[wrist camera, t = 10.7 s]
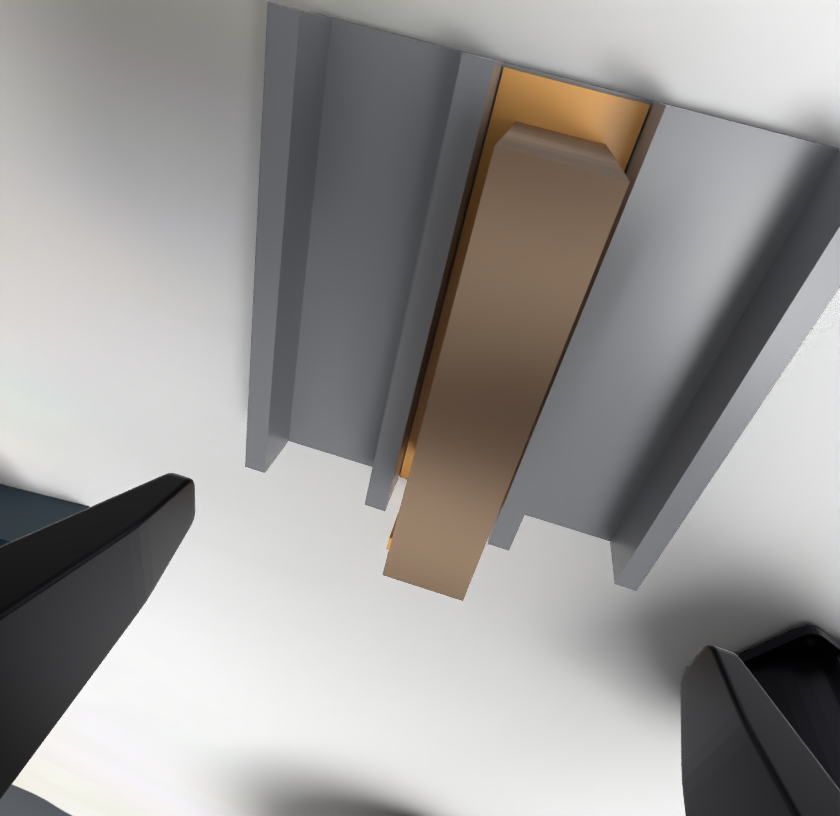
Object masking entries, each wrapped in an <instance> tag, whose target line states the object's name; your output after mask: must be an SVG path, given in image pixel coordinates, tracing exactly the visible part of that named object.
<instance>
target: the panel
mask: <svg viewBox="0 0 840 816" xmlns="http://www.w3.org/2000/svg"><path fill="white" fill-rule="evenodd" d="M629 183H630V181H629V179H628V178H627V176H626V175H625V173H624V172H623V170H622V169H621V167H620V165H619V164H618V162H617V161H616V159H615V158H614V156H613V155H612V153H611V151H610V150H609V148H608V147H607V145H605V144H601V143H598V142H594V141H590V140H586V139H582V138H578V137H575V136H571V135H567V134H563V133H559V132H556V131H552V130H548V129H544V128H540V127H536V126H533V125H529V124H525V123H521V122H517V121H516V122H515V123H514V124H513V126H512V127H511V128H510V129H509V130H508V131H507V132H506V133H505V135H504V136H503V137H502V138H501V139H500V140H499V141H498V143H497V144H496V145H495V146H494V150H493V154H492V158H491V162H490V165H489V169H488V173H487V177H486V181H485V185H484V188H483V192H482V196H481V200H480V204H479V208H478V211H477V215H476V219H475V223H474V227H473V231H472V234H471V238H470V242H469V246H468V250H467V254H466V257H465V261H464V265H463V269H462V273H461V277H460V280H459V284H458V288H457V292H456V296H455V300H454V303H453V307H452V311H451V315H450V319H449V323H448V326H447V330H446V334H445V338H444V342H443V346H442V349H441V353H440V357H439V361H438V365H437V369H436V372H435V376H434V380H433V384H432V388H431V392H430V395H429V399H428V403H427V407H426V411H425V415H424V418H423V422H422V426H421V430H420V434H419V438H418V441H417V445H416V449H415V453H414V457H413V461H412V464H411V468H410V472H409V476H408V480H407V484H406V487H405V491H404V495H403V499H402V503H401V507H400V510H399V514H398V518H397V522H396V526H395V529H394V533H393V537H392V541H391V545H390V549H389V552H388V556H387V560H386V564H385V568H384V572H383V575H384V576H388V577H391V578H394V579H397V580H400V581H403V582H406V583H409V584H412V585H415V586H419V587H422V588H425V589H428V590H431V591H434V592H437V593H440V594H443V595H446V596H449V597H453V598H456V599H459V600H462V601H463V599H464V597H465V594H466V592H467V589H468V587H469V584H470V582H471V579H472V577H473V574H474V572H475V569H476V567H477V564H478V562H479V559H480V557H481V554H482V551H483V549H484V546H485V544H486V541H487V539H488V536H489V534H490V531H491V529H492V526H493V524H494V521H495V519H496V516H497V514H498V511H499V509H500V506H501V504H502V501H503V499H504V496H505V494H506V491H507V489H508V486H509V484H510V481H511V479H512V476H513V474H514V471H515V469H516V466H517V464H518V461H519V459H520V456H521V454H522V451H523V449H524V446H525V444H526V441H527V439H528V436H529V434H530V431H531V429H532V426H533V424H534V421H535V419H536V416H537V414H538V411H539V409H540V406H541V404H542V401H543V399H544V396H545V393H546V391H547V388H548V386H549V383H550V381H551V378H552V376H553V373H554V371H555V368H556V366H557V363H558V361H559V358H560V356H561V353H562V351H563V348H564V346H565V343H566V341H567V338H568V336H569V333H570V331H571V328H572V326H573V323H574V321H575V318H576V316H577V313H578V311H579V308H580V306H581V303H582V301H583V298H584V296H585V293H586V291H587V288H588V286H589V283H590V281H591V278H592V276H593V273H594V271H595V268H596V266H597V263H598V261H599V258H600V256H601V253H602V251H603V248H604V246H605V243H606V240H607V238H608V235H609V233H610V230H611V228H612V225H613V223H614V220H615V218H616V215H617V213H618V210H619V208H620V205H621V203H622V200H623V198H624V195H625V193H626V190H627V188H628V185H629Z"/></svg>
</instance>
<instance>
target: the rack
mask: <svg viewBox="0 0 840 816" xmlns="http://www.w3.org/2000/svg"><path fill="white" fill-rule="evenodd" d="M516 121H517V122H521V123H525V124H529V125H533V126H536V127H540V128H544V129H548V130H552V131H556V132H559V133H563V134H567V135H571V136H575V137H578V138H582V139H586V140H590V141H594V142H598V143H601V144H605V145H607V147H608V148H609V150H610V151H611V153H612V155H613V156H614V158H615V159H616V161H617V162H618V164H619V165H620V167H621V169H622V170H623V172H624V173H625V175H626V176H627V178H628V179H629V181H630V183H629V185H628V188H627V190H626V193H625V195H624V198H623V200H622V203H621V205H620V208H619V210H618V213H617V215H616V218H615V220H614V223H613V225H612V228H611V230H610V233H609V235H608V238H607V240H606V243H605V246H604V248H603V251H602V253H601V256H600V258H599V261H598V263H597V266H596V268H595V271H594V273H593V276H592V278H591V281H590V283H589V286H588V288H587V291H586V293H585V296H584V298H583V301H582V303H581V306H580V308H579V311H578V313H577V316H576V318H575V321H574V323H573V326H572V328H571V331H570V333H569V336H568V338H567V341H566V343H565V346H564V348H563V351H562V353H561V356H560V358H559V361H558V363H557V366H556V368H555V371H554V373H553V376H552V378H551V381H550V383H549V386H548V388H547V391H546V393H545V396H544V399H543V401H542V404H541V406H540V409H539V411H538V414H537V416H536V419H535V421H534V424H533V426H532V429H531V431H530V434H529V436H528V439H527V441H526V444H525V446H524V449H523V451H522V454H521V456H520V459H519V461H518V464H517V466H516V469H515V471H514V474H513V476H512V479H511V481H510V484H509V486H508V489H507V491H506V494H505V496H504V499H503V501H502V504H501V506H500V509H499V511H498V514H497V516H496V519H495V521H494V524H493V526H492V529H491V531H490V534H489V540H488V544H491V545H494V546H497V547H500V548H503V549H506V550H509V549H510V546H511V544H512V542H513V540H514V537H515V535H516V533H517V531H518V528H519V526H520V524H521V522H522V519H523V517H524V515H528V516H531V517H535V518H538V519H541V520H544V521H547V522H551V523H554V524H557V525H560V526H563V527H567V528H570V529H573V530H576V531H579V532H583V533H586V534H589V535H592V536H595V537H599V538H602V539H605V540H608V541H610V544H611V553H612V562H613V571H614V581H615V584H617V585H620V586H623V587H626V588H629V589H632V590H635V591H637V589H638V588H639V586H640V585H641V583H642V582H643V580H644V579H645V577H646V576H647V574H648V573H649V571H650V570H651V568H652V567H653V565H654V564H655V562H656V561H657V559H658V558H659V556H660V555H661V553H662V552H663V550H664V549H665V547H666V546H667V544H668V543H669V541H670V540H671V538H672V537H673V535H674V534H675V532H676V531H677V529H678V528H679V526H680V525H681V523H682V522H683V520H684V519H685V517H686V516H687V514H688V513H689V511H690V510H691V508H692V507H693V505H694V504H695V502H696V501H697V500H698V498H699V497H700V495H701V494H702V492H703V491H704V489H705V488H706V486H707V485H708V483H709V482H710V480H711V479H712V477H713V476H714V474H715V473H716V471H717V470H718V468H719V467H720V465H721V464H722V462H723V461H724V459H725V458H726V456H727V455H728V453H729V452H730V450H731V449H732V447H733V446H734V444H735V443H736V441H737V440H738V438H739V437H740V435H741V434H742V432H743V431H744V429H745V428H746V426H747V425H748V423H749V422H750V420H751V419H752V417H753V416H754V414H755V413H756V411H757V410H758V408H759V407H760V405H761V404H762V402H763V401H764V399H765V398H766V396H767V395H768V393H769V392H770V390H771V389H772V387H773V386H774V384H775V383H776V382H777V380H778V379H779V377H780V376H781V374H782V373H783V371H784V370H785V368H786V367H787V365H788V364H789V362H790V361H791V359H792V358H793V356H794V355H795V353H796V352H797V350H798V349H799V347H800V346H801V344H802V343H803V341H804V340H805V338H806V337H807V335H808V334H809V332H810V331H811V329H812V328H813V326H814V325H815V323H816V322H817V320H818V319H819V317H820V316H821V314H822V313H823V311H824V310H825V308H826V307H827V305H828V304H829V302H830V301H831V299H832V298H833V296H834V295H835V293H836V292H837V290H838V289H839V287H840V149H838V148H834V147H830V146H826V145H822V144H818V143H814V142H811V141H807V140H803V139H799V138H795V137H791V136H787V135H783V134H780V133H776V132H772V131H768V130H764V129H760V128H756V127H752V126H749V125H745V124H741V123H737V122H733V121H729V120H725V119H721V118H718V117H714V116H710V115H706V114H702V113H698V112H694V111H691V110H687V109H683V108H679V107H675V106H671V105H667V104H663V103H660V102H656V101H652V100H648V99H644V98H640V97H636V96H632V95H629V94H625V93H621V92H617V91H613V90H609V89H605V88H601V87H598V86H594V85H590V84H586V83H582V82H578V81H574V80H570V79H567V78H563V77H559V76H555V75H551V74H547V73H543V72H540V71H536V70H532V69H528V68H524V67H520V66H516V65H512V64H509V63H505V62H501V61H497V60H493V59H489V58H485V57H481V56H478V55H474V54H470V53H466V52H462V51H458V50H454V49H450V48H447V47H443V46H439V45H435V44H431V43H427V42H423V41H420V40H416V39H412V38H408V37H404V36H400V35H396V34H392V33H389V32H385V31H381V30H377V29H373V28H369V27H365V26H361V25H358V24H354V23H350V22H346V21H342V20H338V19H334V18H330V17H327V16H323V15H319V14H315V13H311V12H307V11H303V10H299V9H294V8H290V7H286V6H282V5H278V4H274V3H269V2H268V11H267V32H266V52H265V72H264V93H263V113H262V134H261V154H260V175H259V195H258V216H257V236H256V257H255V277H254V298H253V318H252V339H251V359H250V380H249V400H248V421H247V441H246V462H245V467H248V468H251V469H254V470H258V471H261V472H264V473H265V472H266V471H267V469H268V468H269V467H270V465H271V464H272V463H273V461H274V460H275V458H276V457H277V456H278V454H279V453H280V452H281V450H282V449H283V448H284V446H285V445H286V443H287V442H288V441H291V442H295V443H298V444H301V445H304V446H307V447H311V448H314V449H317V450H320V451H323V452H327V453H330V454H333V455H336V456H339V457H343V458H346V459H349V460H352V461H355V462H359V463H362V464H365V465H368V466H371V467H373V469H372V473H371V478H370V483H369V487H368V492H367V496H366V501H365V505H368V506H371V507H374V508H377V509H380V510H384V511H385V510H386V507H387V505H388V502H389V500H390V497H391V495H392V492H393V490H394V487H395V485H396V482H397V480H398V477H399V475H400V477H402V478H405V479H408V476H409V472H410V468H411V464H412V461H413V457H414V453H415V449H416V445H417V441H418V438H419V434H420V430H421V426H422V422H423V418H424V415H425V411H426V407H427V403H428V399H429V395H430V392H431V388H432V384H433V380H434V376H435V372H436V369H437V365H438V361H439V357H440V353H441V349H442V346H443V342H444V338H445V334H446V330H447V326H448V323H449V319H450V315H451V311H452V307H453V303H454V300H455V296H456V292H457V288H458V284H459V280H460V277H461V273H462V269H463V265H464V261H465V257H466V254H467V250H468V246H469V242H470V238H471V234H472V231H473V227H474V223H475V219H476V215H477V211H478V208H479V204H480V200H481V196H482V192H483V188H484V185H485V181H486V177H487V173H488V169H489V165H490V162H491V158H492V154H493V150H494V146H495V145H496V144H497V143H498V141H499V140H500V139H501V138H502V137H503V136H504V135H505V133H506V132H507V131H508V130H509V129H510V128H511V127H512V126H513V124H514V123H515V122H516ZM398 514H399V513H398ZM397 518H398V516H397ZM397 518H396V521H395V524H394V527H393V529H392V532H391V535H390V538H389V541H388V545H387V549H388V550H389V549H390V545H391V541H392V537H393V533H394V529H395V526H396V522H397Z"/></svg>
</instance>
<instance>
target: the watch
mask: <svg viewBox="0 0 840 816" xmlns="http://www.w3.org/2000/svg"><path fill="white" fill-rule="evenodd" d="M87 508H89V507H88V506H84V505H80V504H76V503H72V502H68V501H64V500H60V499H56V498H52V497H48V496H44V495H40V494H36V493H32V492H28V491H24V490H20V489H16V488H13V487H9V486H5V485H1V484H0V547H1V546H3V545H5V544H7V543H10V542H12V541H14V540H17V539H19V538H21V537H23V536H26V535H28V534H30V533H33V532H35V531H37V530H39V529H42V528H44V527H46V526H49V525H51V524H53V523H55V522H58V521H60V520H62V519H65V518H67V517H69V516H71V515H74V514H76V513H78V512H81V511H83V510H85V509H87Z"/></svg>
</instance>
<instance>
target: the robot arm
mask: <svg viewBox="0 0 840 816" xmlns="http://www.w3.org/2000/svg"><path fill="white" fill-rule="evenodd" d="M194 516H195V486H194V482H193V480H192V479H190V478H187V477H184V476H181V475H178V474H175V473H168V474H165V475H163V476H160V477H158V478H156V479H154V480H151V481H149V482H147V483H144V484H142V485H140V486H138V487H135V488H133V489H131V490H128V491H126V492H124V493H122V494H119V495H117V496H115V497H112V498H110V499H108V500H106V501H103V502H101V503H99V504H97V505H94V506H92V507H90V508H87V509H85V510H83V511H81V512H78V513H76V514H74V515H71V516H69V517H67V518H65V519H62V520H60V521H58V522H55V523H53V524H51V525H49V526H46V527H44V528H42V529H39V530H37V531H35V532H33V533H30V534H28V535H26V536H23V537H21V538H19V539H17V540H14V541H12V542H10V543H7V544H5V545H3V546H1V547H0V799H1V798H2V796H3V795H4V794H5V792H6V791H7V790H8V788H9V787H10V786H11V784H12V783H13V782H14V780H15V779H16V778H17V776H18V775H19V773H20V772H21V771H22V769H23V768H24V767H25V765H26V764H27V763H28V761H29V760H30V759H31V757H32V756H33V754H34V753H35V752H36V750H37V749H38V748H39V746H40V745H41V744H42V742H43V741H44V740H45V738H46V737H47V736H48V734H49V733H50V731H51V730H52V729H53V727H54V726H55V725H56V723H57V722H58V721H59V719H60V718H61V717H62V715H63V714H64V713H65V711H66V710H67V708H68V707H69V706H70V704H71V703H72V702H73V700H74V699H75V698H76V696H77V695H78V694H79V692H80V691H81V689H82V688H83V687H84V685H85V684H86V683H87V681H88V680H89V679H90V677H91V676H92V675H93V673H94V672H95V671H96V669H97V668H98V666H99V665H100V664H101V662H102V661H103V660H104V658H105V657H106V656H107V654H108V653H109V652H110V650H111V649H112V648H113V646H114V645H115V643H116V642H117V641H118V639H119V638H120V637H121V635H122V634H123V633H124V631H125V630H126V629H127V627H128V626H129V625H130V623H131V622H132V620H133V619H134V618H135V616H136V615H137V614H138V612H139V611H140V609H141V608H142V607H143V605H144V604H145V602H146V601H147V599H148V598H149V596H150V594H151V593H152V591H153V590H154V588H155V586H156V584H157V583H158V581H159V579H160V578H161V576H162V574H163V573H164V571H165V569H166V567H167V566H168V564H169V562H170V561H171V559H172V557H173V555H174V554H175V552H176V550H177V549H178V547H179V545H180V543H181V542H182V540H183V538H184V537H185V535H186V533H187V532H188V530H189V528H190V526H191V524H192V522H193V519H194ZM680 694H681V767H682V785H683V796H684V805H685V813H686V816H840V644H839V643H838V642H837V641H835V640H834V639H833V638H831V637H830V636H829V635H827V634H826V633H825V632H824V631H822V630H821V629H820V628H818V627H816V626H811V625H805V626H801V627H798V628H796V629H794V630H792V631H790V632H787V633H785V634H783V635H781V636H779V637H777V638H774V639H772V640H770V641H768V642H766V643H763V644H761V645H759V646H757V647H755V648H753V649H750V650H748V651H746V652H744V653H742V654H739V655H736V654H735V653H734V652H732V651H729V650H726V649H723V648H720V647H717V646H714V645H708V646H706V647H704V648H703V649H702V650H701V652H700V653H699V654H698V655H697V656H696V657H695V659H694V660H693V661H692V662H691V663H690V665H689V666H688V667H687V668H686V669H685V671H684V673H683V675H682V678H681V685H680Z"/></svg>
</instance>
